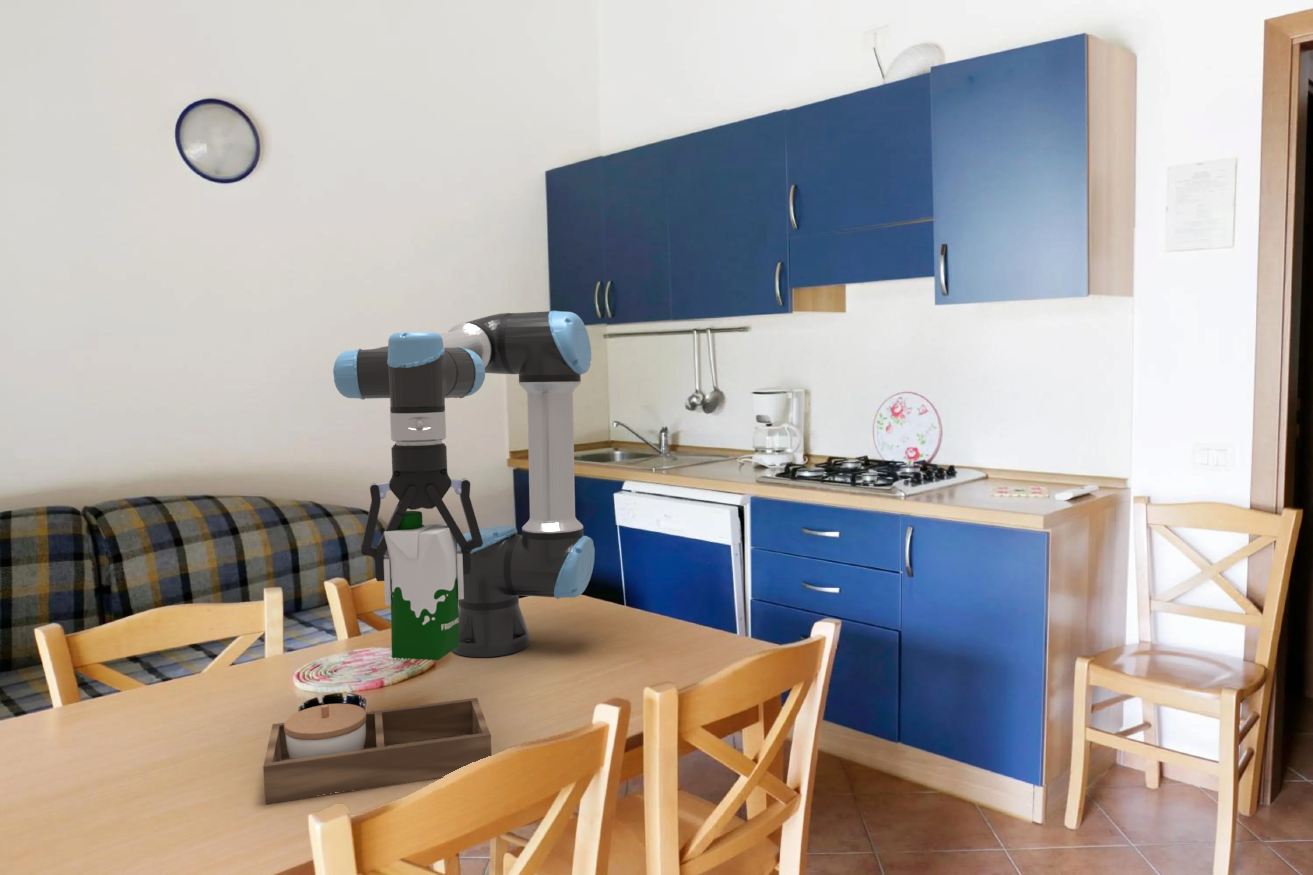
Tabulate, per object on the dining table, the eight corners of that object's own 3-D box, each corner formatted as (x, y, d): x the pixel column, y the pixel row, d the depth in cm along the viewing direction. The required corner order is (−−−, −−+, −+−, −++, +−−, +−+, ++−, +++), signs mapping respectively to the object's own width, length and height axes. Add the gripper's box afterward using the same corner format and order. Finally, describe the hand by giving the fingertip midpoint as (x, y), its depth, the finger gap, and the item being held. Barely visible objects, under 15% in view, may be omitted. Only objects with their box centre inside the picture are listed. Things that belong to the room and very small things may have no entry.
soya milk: (411, 641, 141) (406, 508, 140) (468, 644, 140) (464, 509, 138) (382, 659, 133) (376, 517, 131) (442, 663, 131) (437, 518, 129)
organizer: (274, 757, 137) (272, 723, 137) (478, 729, 146) (477, 697, 145) (265, 804, 123) (263, 766, 122) (492, 769, 131) (490, 734, 131)
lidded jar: (299, 757, 137) (296, 693, 136) (376, 753, 138) (372, 690, 137) (276, 791, 126) (272, 722, 126) (359, 786, 127) (355, 718, 126)
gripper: (335, 447, 127) (342, 613, 129) (501, 441, 134) (505, 599, 135) (337, 443, 134) (343, 600, 136) (494, 437, 141) (498, 587, 142)
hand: (424, 600), depth 136 cm, fingers closed on soya milk, 9 cm apart
